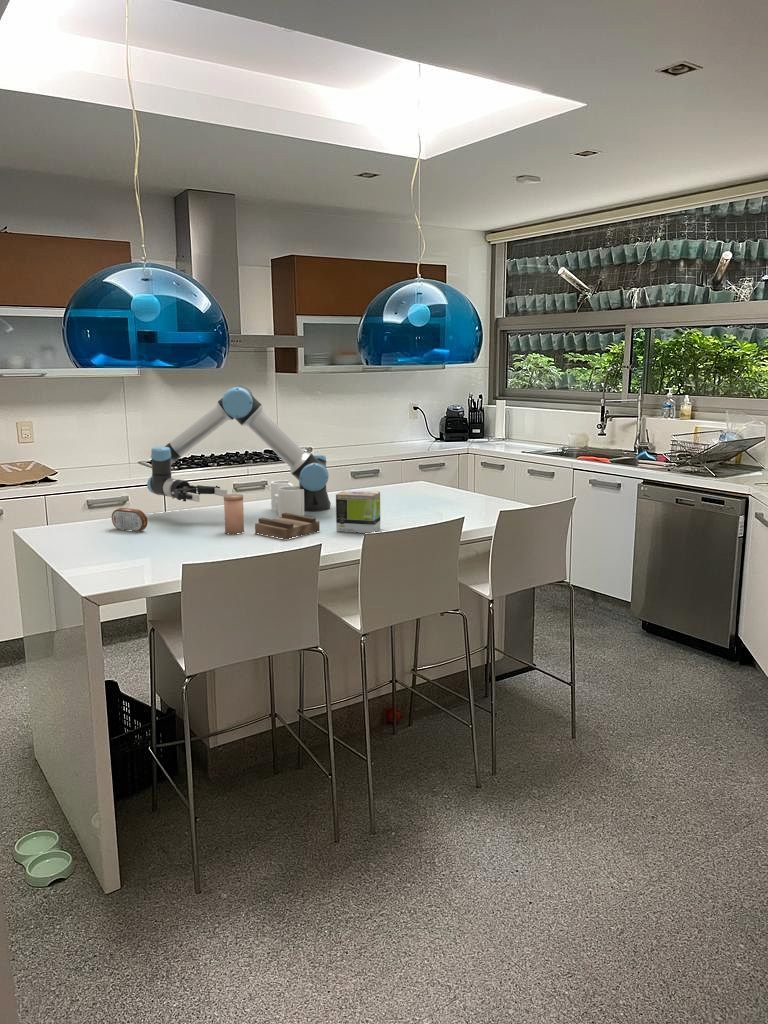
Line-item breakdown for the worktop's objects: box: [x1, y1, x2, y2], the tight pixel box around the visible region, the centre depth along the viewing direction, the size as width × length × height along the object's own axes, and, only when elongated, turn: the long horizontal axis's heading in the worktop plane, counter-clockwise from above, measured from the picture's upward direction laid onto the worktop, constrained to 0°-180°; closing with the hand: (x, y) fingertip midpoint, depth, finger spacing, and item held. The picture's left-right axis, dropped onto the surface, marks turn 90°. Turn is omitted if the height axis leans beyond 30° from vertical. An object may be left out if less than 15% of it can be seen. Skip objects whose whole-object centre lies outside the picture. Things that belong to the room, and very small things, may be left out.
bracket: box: [270, 480, 305, 518], centre depth 333 cm, size 25×10×12 cm, turn 21°
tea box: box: [335, 489, 381, 534], centre depth 304 cm, size 15×10×15 cm
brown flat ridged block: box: [254, 513, 321, 539], centre depth 300 cm, size 18×16×6 cm
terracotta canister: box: [223, 493, 245, 535], centre depth 299 cm, size 7×7×14 cm
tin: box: [111, 507, 148, 532], centre depth 302 cm, size 15×3×8 cm, turn 68°
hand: (212, 495), depth 305 cm, fingers open, 13 cm apart
